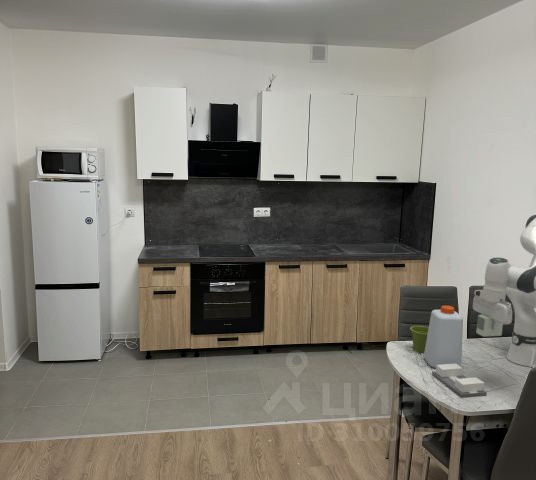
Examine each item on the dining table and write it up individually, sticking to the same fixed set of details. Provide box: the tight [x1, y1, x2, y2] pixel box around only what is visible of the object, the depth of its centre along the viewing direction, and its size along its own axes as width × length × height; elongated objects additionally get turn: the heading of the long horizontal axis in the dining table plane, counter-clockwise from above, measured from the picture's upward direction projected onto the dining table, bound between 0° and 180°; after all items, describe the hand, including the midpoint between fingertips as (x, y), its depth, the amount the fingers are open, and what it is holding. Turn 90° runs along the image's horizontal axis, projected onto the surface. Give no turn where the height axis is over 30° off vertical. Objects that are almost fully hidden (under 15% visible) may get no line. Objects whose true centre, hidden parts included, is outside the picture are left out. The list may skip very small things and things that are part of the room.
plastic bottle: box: [423, 305, 464, 369], centre depth 224 cm, size 15×15×28 cm
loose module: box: [475, 314, 504, 338], centre depth 203 cm, size 9×4×8 cm, turn 104°
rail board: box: [431, 364, 488, 399], centre depth 204 cm, size 12×21×5 cm, turn 14°
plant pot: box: [409, 325, 429, 354], centre depth 240 cm, size 12×12×11 cm
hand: (489, 327), depth 203 cm, fingers closed on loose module, 4 cm apart
